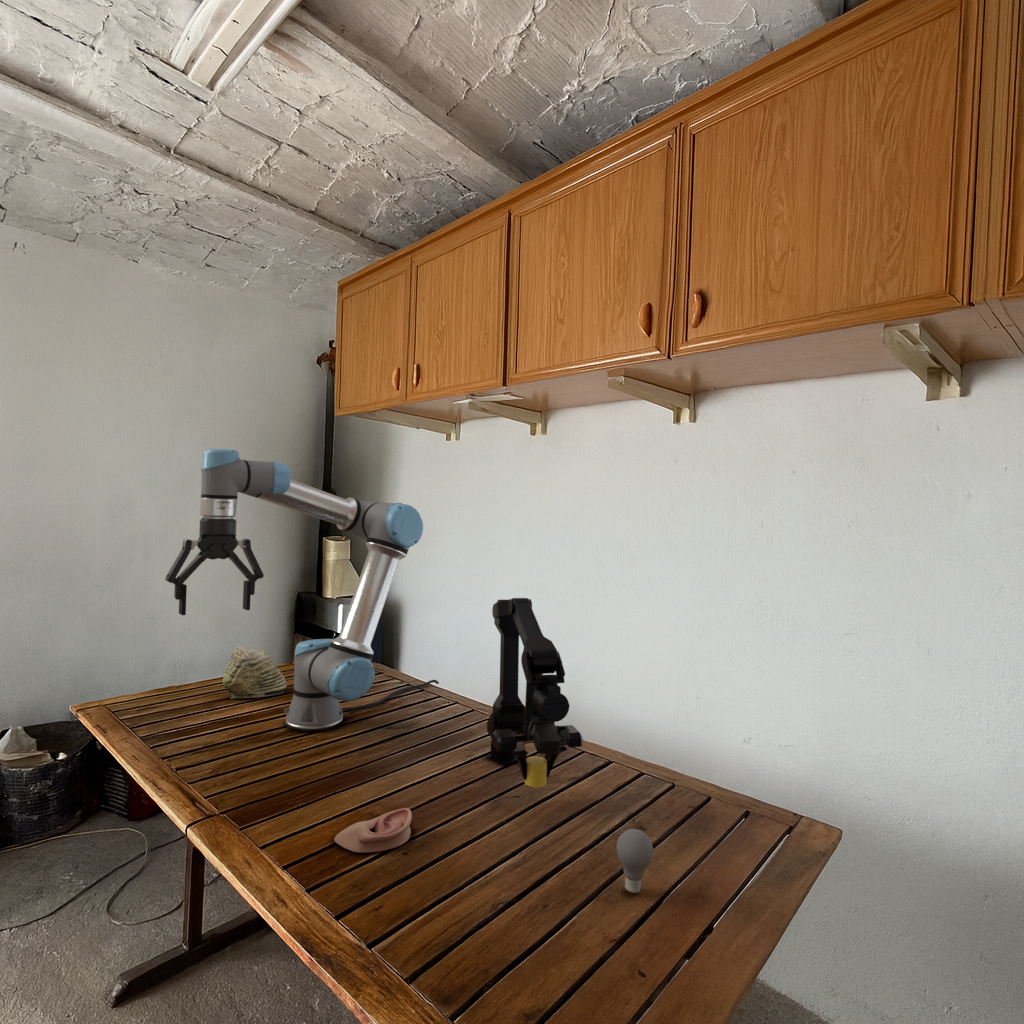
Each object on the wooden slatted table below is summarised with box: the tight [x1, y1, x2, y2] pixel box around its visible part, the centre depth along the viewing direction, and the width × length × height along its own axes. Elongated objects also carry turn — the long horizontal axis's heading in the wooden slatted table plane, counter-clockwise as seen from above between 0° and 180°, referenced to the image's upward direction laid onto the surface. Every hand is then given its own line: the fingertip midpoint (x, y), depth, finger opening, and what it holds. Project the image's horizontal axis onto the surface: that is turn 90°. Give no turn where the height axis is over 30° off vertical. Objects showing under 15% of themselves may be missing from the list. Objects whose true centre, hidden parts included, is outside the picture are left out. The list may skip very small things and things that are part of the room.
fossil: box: [222, 646, 288, 699], centre depth 198 cm, size 9×18×15 cm, turn 132°
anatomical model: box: [333, 807, 413, 854], centre depth 119 cm, size 13×4×12 cm
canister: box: [524, 755, 547, 789], centre depth 135 cm, size 5×5×5 cm
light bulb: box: [615, 828, 654, 894], centre depth 106 cm, size 6×6×10 cm
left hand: (215, 611), depth 143 cm, fingers open, 13 cm apart
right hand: (535, 778), depth 135 cm, fingers closed on canister, 4 cm apart
